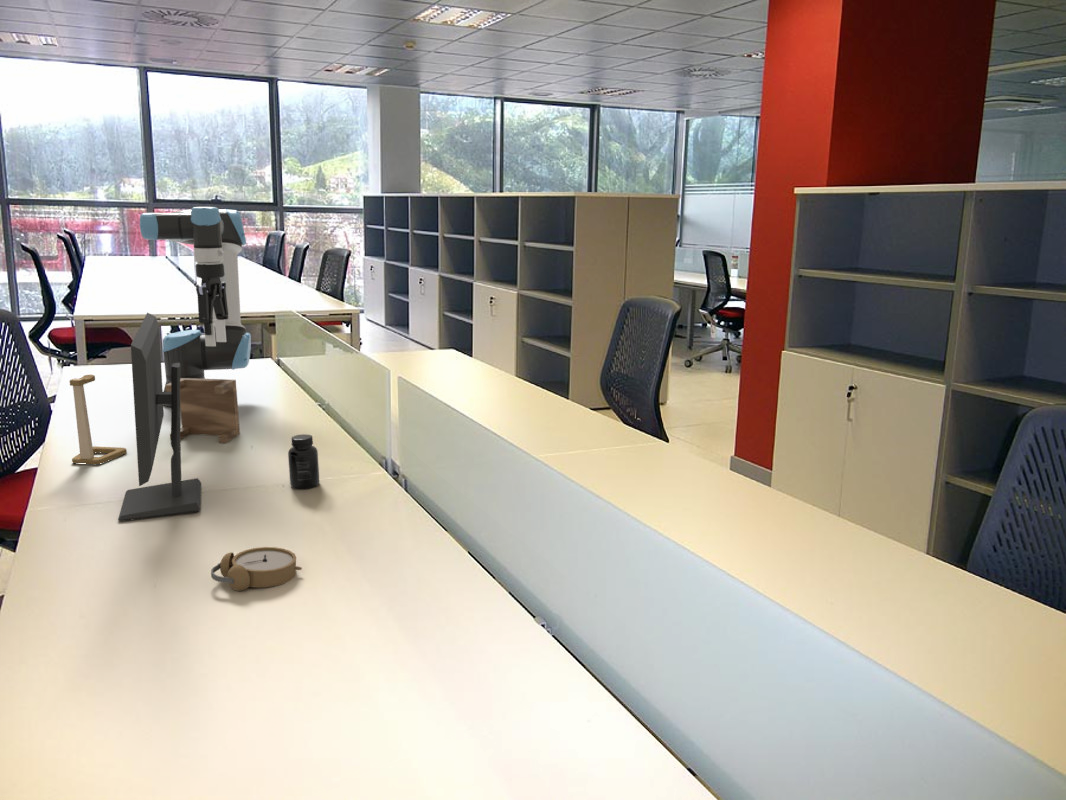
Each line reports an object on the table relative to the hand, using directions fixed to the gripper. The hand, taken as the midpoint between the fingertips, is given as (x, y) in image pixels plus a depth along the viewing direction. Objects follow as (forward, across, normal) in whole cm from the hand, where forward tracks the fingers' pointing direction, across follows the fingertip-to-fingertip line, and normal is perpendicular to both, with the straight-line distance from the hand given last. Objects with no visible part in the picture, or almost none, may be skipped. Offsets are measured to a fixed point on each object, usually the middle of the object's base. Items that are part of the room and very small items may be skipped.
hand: (216, 343), depth 238 cm
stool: (+25, -11, 0) cm, 27 cm away
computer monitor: (+25, -60, -14) cm, 67 cm away
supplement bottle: (+25, -45, -41) cm, 66 cm away
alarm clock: (+25, -93, -49) cm, 108 cm away
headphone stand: (+25, -32, +19) cm, 45 cm away
